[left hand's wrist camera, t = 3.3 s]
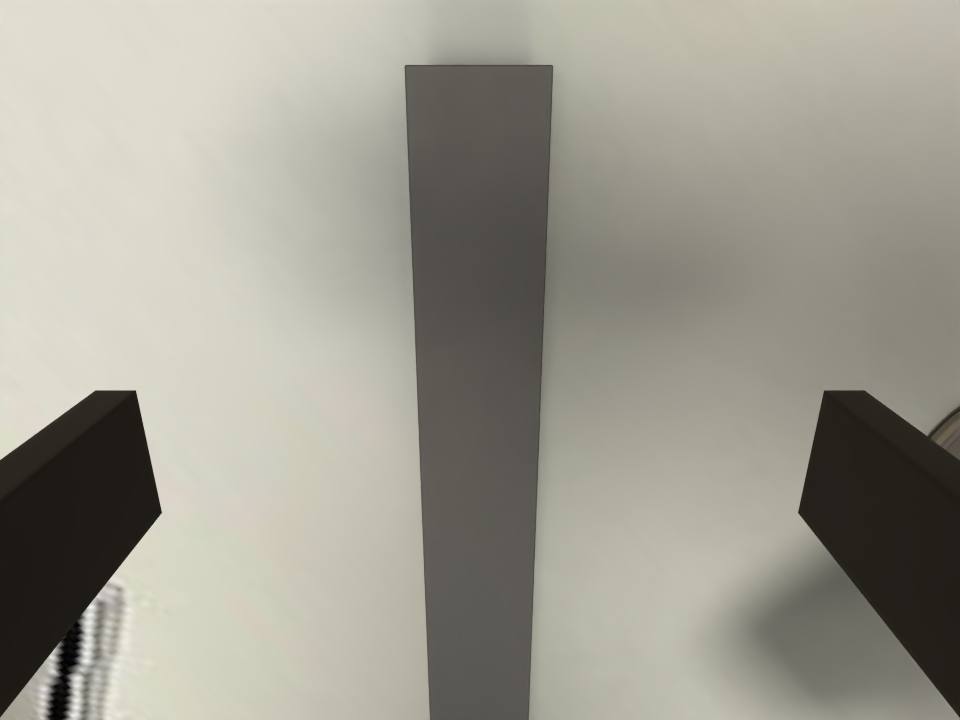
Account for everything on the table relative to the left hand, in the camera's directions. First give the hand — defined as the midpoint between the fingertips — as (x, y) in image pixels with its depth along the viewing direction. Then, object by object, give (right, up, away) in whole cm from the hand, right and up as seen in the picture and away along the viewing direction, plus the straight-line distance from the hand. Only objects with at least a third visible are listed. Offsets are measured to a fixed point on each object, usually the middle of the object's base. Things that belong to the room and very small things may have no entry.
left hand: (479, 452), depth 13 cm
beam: (0, -11, +27) cm, 29 cm away
